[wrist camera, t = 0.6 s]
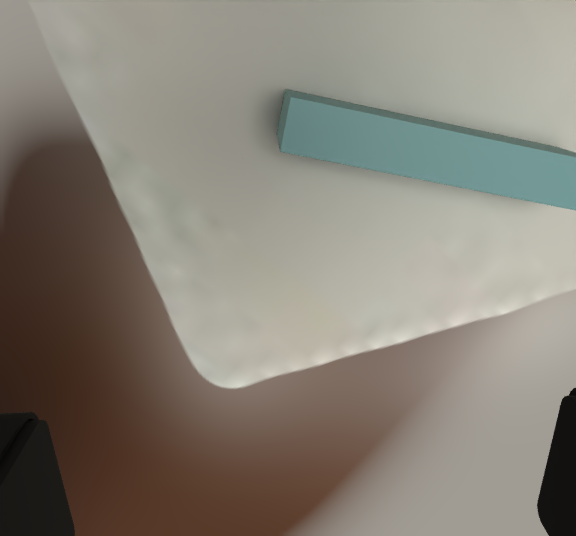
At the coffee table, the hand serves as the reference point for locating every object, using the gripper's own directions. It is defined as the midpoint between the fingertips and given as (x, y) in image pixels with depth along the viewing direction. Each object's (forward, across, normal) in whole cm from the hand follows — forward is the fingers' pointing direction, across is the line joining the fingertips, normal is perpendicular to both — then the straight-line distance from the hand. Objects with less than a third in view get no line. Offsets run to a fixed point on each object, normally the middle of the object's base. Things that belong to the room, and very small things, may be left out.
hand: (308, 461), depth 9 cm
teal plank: (+29, -10, -1) cm, 31 cm away
